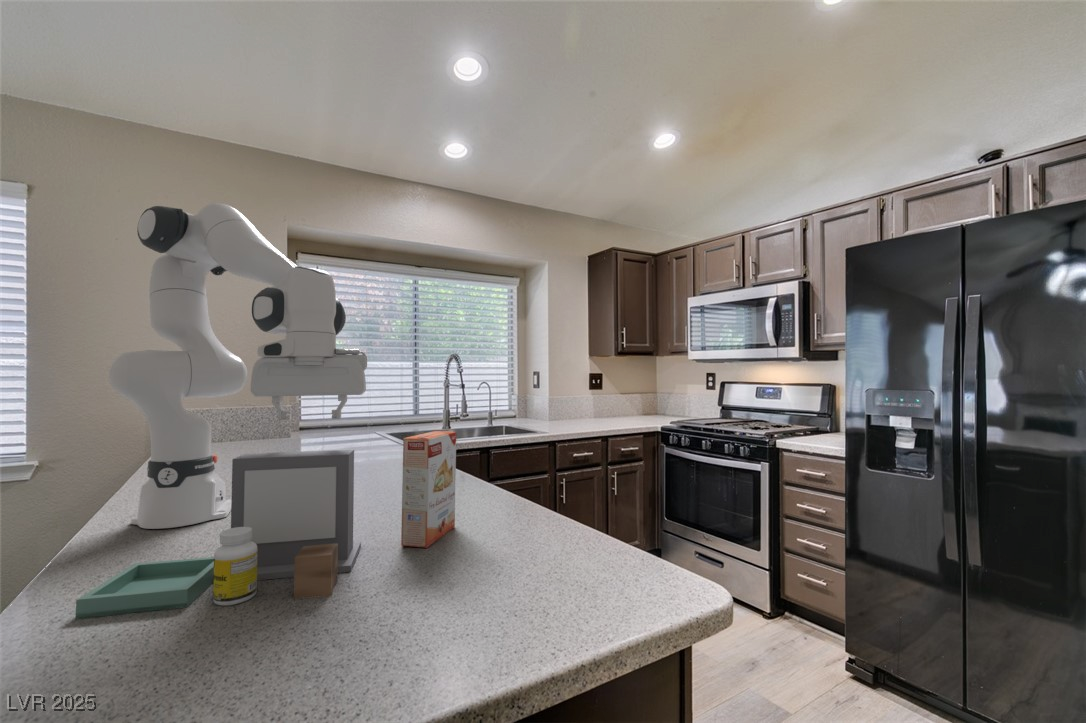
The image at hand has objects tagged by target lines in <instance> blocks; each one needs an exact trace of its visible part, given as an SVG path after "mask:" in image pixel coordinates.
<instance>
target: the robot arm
mask: <svg viewBox="0 0 1086 723" xmlns="http://www.w3.org/2000/svg"><path fill="white" fill-rule="evenodd" d="M137 236H138V239H139V240H140V242H141V244H142V245H143V246H145V247H146V248H148V249H150V250H152V251H154V252H157V253H158V254H159V253H160V254H164V255H162V256H159V257H158V258H156V259H155V260H154V261H153V264H152V266H151V268H152V269H151V272H150V278H149V290H148V291H149V311H150V312H149V313H150V317H149V318H150V325H151V327H152V330H153V331H155V333H157V334H158V336H160V337H162V338H163V339H165V340H168V341H171V342H173V343H174V344H176V345H177V346H178V347H179V348H180V349H181V350H180V351H179V350H163V349H162V350H159V349H156V350H155V349H147V350H145V349H144V350H137V351H129V352H123V353H121V354H120V355H118V356H117V357H116V358H115V359H114V361H113V362H112V363H111V365H110V367H109V370H108V381H109V383H110V386H111V388H112V389H113V390H114V391H115V392H116V393H117V394H118V395H120V396H121V397H123V398H126V399H127V400H128V401H130V402H131V403H132V404H134V405H135V406H136V407H137V408H138V410H140V412H141V413H142V414H143V416H144V417H145V419H146V422H147V424H148V427H149V428H148V429H149V437H150V460H149V461H148V462H147V467H146V471H147V478H148V480H147V481H146V482H145V483H143V485H141V487H140V492H139V501H138V507H137V515H136V517H132V518H131V520H130V524H131V525H137V526H138V527H139V528H142V529H146V530H147V529H148V530H149V529H152V530H155V529H157V530H158V529H161V530H162V529H172V528H178V527H179V528H180V527H185V526H190V525H195V524H199V523H204V522H207V521H211V520H218V519H223V518H226V517H228V515H229V514H230V513H231V500H232V498H227V495H226V494H227V492H226V491H227V487H226V486H227V485H226V482H225V481H224V480H223V479H221V477H220V476H219V475H218V474H217V473H216V472H215V471H214V470H215V469H216V468H215V464H217V463H218V459H219V458H218V455H217V454H214V455H212V425H211V423H210V421H208V419H207V418H205V417H203V416H201V415H198V414H196V413H193V412H191V411H187V410H185V408H184V406H183V404H182V400H183V399H195V398H196V399H201V398H203V399H204V398H220V397H225V396H230V395H234V394H238V393H240V392H241V391H242V390H243V388H244V387H245V385H246V383H247V381H248V368H247V366H246V364H245V362H244V361H243V360H242V358H240V357H239V356H238V355H236V354H234V353H233V352H231V351H230V350H229V349H227V348H226V346H224V345H223V344H222V343H221V341H220V340H219V339H218V337H217V336H216V334H215V333H214V330H213V328H212V324H211V321H210V320H211V319H210V314H209V307H208V305H209V304H208V295H207V289H206V288H207V287H206V278H207V275H208V274H209V273H210V272H211V274H213V275H215V276H222V275H223V274H224V273H225V272H229V273H230V274H232V275H235V276H238V277H241V278H245V279H249V280H253V281H256V282H261V283H264V284H268V285H270V286H271V287H269V286H268V287H265V288H264V289H261V290H260V291H259V292H257V294H256V295H255V296H254V297H253V299H252V303H251V317H252V318H253V319H252V320H253V321H254V323H255V325H256V327H258V328H259V329H260V330H261V331H262V332H265V333H268V334H272V335H281V336H285V338H283V339H279V340H276V341H273V342H269V343H264V344H261V345H259V346H257V351H256V352H257V356H258V357H260V358H259V359H257V360H256V361H255V363H253V367H252V371H251V376H250V378H251V379H250V392H251V394H252V395H253V397H255V398H256V397H260V398H261V397H271V403H272V405H273V407H274V408H275V410H276V411H277V412H278V414H277V418H278V419H277V420H278V421H289V420H290V410H285V408H284V406H283V405H282V403H284V397H306V396H307V397H310V396H312V397H315V396H318V397H319V396H322V397H323V396H337V401H338V402H340V403H339V404H338V406H337V408H336V409H332V410H331V419H332V420H337V419H338V420H341V419H342V410H343V408H344V407H345V405H346V403H347V402H348V396H361V395H364V393H365V392H366V391H367V381H366V375H365V374H366V373H365V371H366V369H367V367H368V356H367V354H366V353H365V352H363V351H361V350H360V349H358V348H354V349H353V348H352V349H345V348H336V347H337V344H336V340H337V338H336V337H337V336H338V335H339V334H340V333H341V331H342V330H343V329H344V327H345V324H346V321H347V320H346V319H347V318H346V312H345V309H344V307H343V304H342V303H341V301H340V300H339V298H337V296H336V286H335V281H334V277H333V276H332V274H330V273H329V272H328V271H326V270H322V269H318V268H314V267H307V266H302V265H301V266H298V265H296V263H295V262H293V261H292V260H291V259H289V258H288V257H287V256H285V255H284V254H283V253H282V252H281V251H279V250H278V249H277V248H276V247H275V246H273V244H271V242H270V241H269V240H267V239H266V238H265V237H264V236H263V235H262V234H261V233H260V232H259V230H258V229H257V228H256V227H255V225H254V224H253V223H251V221H249V219H248V217H246V216H245V215H244V214H242V213H241V212H240V211H239V210H238V209H236V208H235V207H234V206H233V207H232V206H231V205H229V204H227V203H222V202H221V203H219V202H215V203H210V204H207V205H204V206H203V207H202V208H200V210H199V211H198V213H197V214H192V213H189V212H186V211H183V208H176V207H171V206H162V205H154V206H151V207H149V208H147V209H145V210H144V211H143V212H142V214H141V215H140V216H139V220H138V223H137ZM229 512H230V513H229Z"/></svg>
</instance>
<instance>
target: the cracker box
mask: <svg viewBox="0 0 1086 723" xmlns="http://www.w3.org/2000/svg"><path fill="white" fill-rule="evenodd" d="M402 444H403V445H402V446H403V448H402V486H401V487H402V488H401V490H402V493H401V496H402V497H401V530H400V531H401V538H400V546H401V547H414V548H422V549H423V548H425V549H427V548H429V547H430V546H432V544H434V543H435V542H436V541H438V540H439V539H440V538H441V537H443V536H444V535H445V534H447V533H448V532H449V531H451V530H453V528H455V525H456V524H455V522H456V515H455V514H456V480H457V479H456V475H457V474H456V469H457V468H456V467H457V432H456V431H452V430H450V431H448V430H447V431H445V430H434V431H429V432H425V433H420V434H416V435H411V436H408V437H403V443H402Z"/></svg>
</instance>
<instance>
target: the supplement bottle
mask: <svg viewBox="0 0 1086 723" xmlns="http://www.w3.org/2000/svg"><path fill="white" fill-rule="evenodd" d="M251 539H252V528H250V527H236V528H231V527H230V528H228V529H224V530H222V531H221V532H220V534H219V544H220V545H221V546H219V547H218V548H217V549H216V550H215V551H214V554H213V557H214V582H213V583H212V585H213V590H212V592H213V593H212V595H213V597H212V598H213V599H212V600H213V604H215V605H218V606H224V607H225V606H235V605H238V604H241V603H244V602H247V601H249V600H250V599H253V597H254V596H255V595H256V594H257V591H258V580H257V545H256V543H254V542H252V541H250V540H251Z"/></svg>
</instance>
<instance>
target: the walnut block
mask: <svg viewBox="0 0 1086 723" xmlns="http://www.w3.org/2000/svg"><path fill="white" fill-rule="evenodd" d="M337 564H338V543H337V544H325V545H313V546H303V548H302V549H301V550H300V552H299V553H298V554H297V556H296V557H295V570H294V577H293V578H294V580H293V582H294V584H293V599H294V600H300V599H309V598H320V597H329V596H332V594H333V592H334V590H335V587H336V585H337V583H338V573H337Z"/></svg>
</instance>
